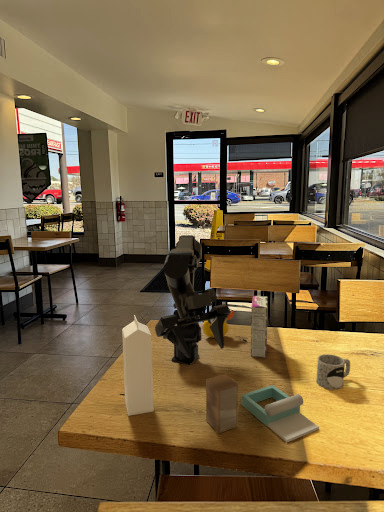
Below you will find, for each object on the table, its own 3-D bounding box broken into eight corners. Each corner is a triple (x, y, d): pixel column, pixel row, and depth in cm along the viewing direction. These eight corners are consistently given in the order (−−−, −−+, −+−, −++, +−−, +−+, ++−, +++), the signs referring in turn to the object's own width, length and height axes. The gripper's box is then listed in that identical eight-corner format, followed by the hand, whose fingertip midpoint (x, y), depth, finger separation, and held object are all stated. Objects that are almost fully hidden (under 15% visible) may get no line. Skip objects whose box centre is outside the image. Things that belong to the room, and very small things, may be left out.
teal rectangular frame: (241, 404, 88) (241, 385, 87) (272, 394, 93) (273, 376, 92) (285, 443, 75) (286, 421, 74) (319, 428, 79) (321, 408, 78)
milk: (128, 416, 84) (123, 324, 80) (125, 401, 90) (120, 315, 86) (154, 411, 86) (151, 321, 82) (149, 397, 91) (146, 312, 87)
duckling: (230, 332, 133) (230, 305, 131) (236, 337, 128) (236, 310, 126) (200, 335, 130) (200, 308, 128) (205, 341, 125) (205, 313, 123)
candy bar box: (251, 342, 124) (252, 295, 121) (266, 343, 123) (268, 296, 120) (249, 357, 113) (251, 305, 110) (266, 358, 112) (268, 306, 109)
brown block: (206, 420, 82) (206, 379, 80) (225, 414, 84) (225, 373, 83) (218, 433, 78) (218, 390, 76) (237, 426, 80) (238, 384, 78)
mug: (329, 392, 93) (330, 367, 92) (311, 380, 99) (312, 357, 98) (358, 383, 97) (360, 360, 96) (339, 372, 103) (340, 350, 102)
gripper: (158, 283, 83) (182, 348, 75) (227, 273, 92) (254, 330, 84) (146, 306, 91) (166, 367, 84) (210, 295, 100) (233, 348, 93)
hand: (206, 352), depth 86 cm, fingers open, 9 cm apart
